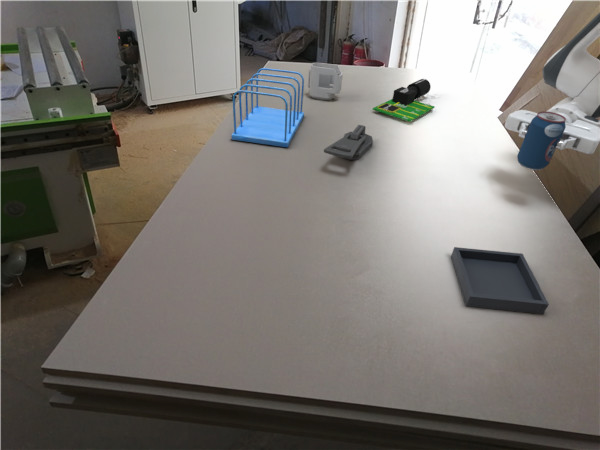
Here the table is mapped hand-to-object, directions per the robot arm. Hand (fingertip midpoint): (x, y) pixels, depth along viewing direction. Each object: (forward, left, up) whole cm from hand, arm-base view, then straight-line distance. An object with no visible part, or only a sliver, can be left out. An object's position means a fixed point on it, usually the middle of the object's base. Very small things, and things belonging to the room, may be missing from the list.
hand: (540, 140), depth 92 cm
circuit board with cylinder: (+19, -60, -17) cm, 65 cm away
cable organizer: (+51, -63, -17) cm, 83 cm away
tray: (+14, +31, -17) cm, 38 cm away
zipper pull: (+42, -17, -17) cm, 48 cm away
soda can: (-1, -1, -7) cm, 7 cm away
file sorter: (+67, -31, -17) cm, 76 cm away
